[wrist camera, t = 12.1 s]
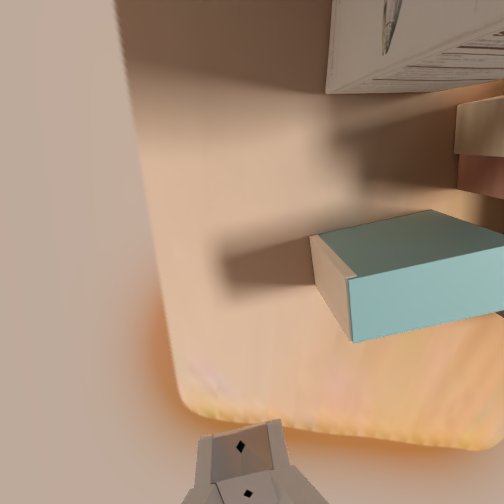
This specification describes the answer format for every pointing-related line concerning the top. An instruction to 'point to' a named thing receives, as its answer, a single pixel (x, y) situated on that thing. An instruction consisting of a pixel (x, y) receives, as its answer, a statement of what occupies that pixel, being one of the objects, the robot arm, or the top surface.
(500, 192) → the book stack with bookend
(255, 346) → the top surface
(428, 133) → the top surface
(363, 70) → the supplement box
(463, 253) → the boxed book
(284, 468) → the robot arm
